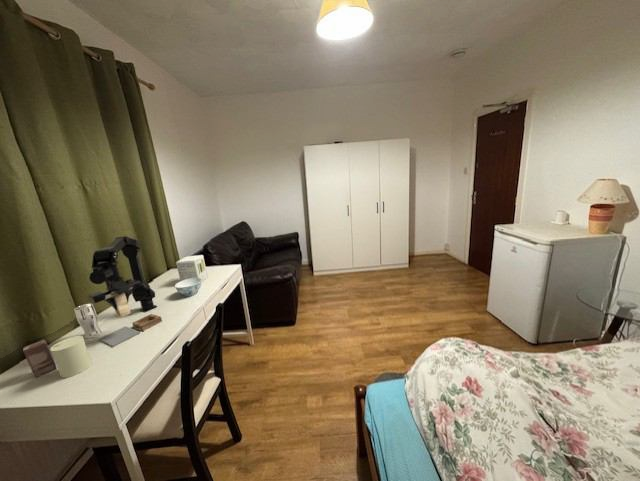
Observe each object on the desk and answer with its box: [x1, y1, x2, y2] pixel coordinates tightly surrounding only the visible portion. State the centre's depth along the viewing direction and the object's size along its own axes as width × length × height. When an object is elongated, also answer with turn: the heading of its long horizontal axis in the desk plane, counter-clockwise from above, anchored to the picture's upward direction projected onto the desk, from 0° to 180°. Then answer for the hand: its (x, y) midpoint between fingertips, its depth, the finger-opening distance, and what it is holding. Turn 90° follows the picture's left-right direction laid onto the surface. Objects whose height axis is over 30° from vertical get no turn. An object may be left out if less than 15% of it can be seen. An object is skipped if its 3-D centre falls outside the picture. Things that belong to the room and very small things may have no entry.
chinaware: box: [174, 278, 202, 297], centre depth 159 cm, size 15×15×8 cm
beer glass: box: [73, 302, 102, 340], centre depth 121 cm, size 7×7×15 cm
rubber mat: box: [98, 326, 141, 348], centre depth 119 cm, size 14×11×1 cm
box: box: [22, 339, 58, 378], centre depth 98 cm, size 6×4×12 cm
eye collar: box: [132, 313, 163, 332], centre depth 127 cm, size 9×9×2 cm
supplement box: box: [175, 254, 209, 284], centre depth 179 cm, size 13×13×18 cm
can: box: [49, 335, 93, 379], centre depth 97 cm, size 9×9×12 cm
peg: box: [111, 293, 132, 318], centre depth 118 cm, size 4×4×10 cm
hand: (121, 307), depth 118 cm, fingers closed on peg, 4 cm apart
